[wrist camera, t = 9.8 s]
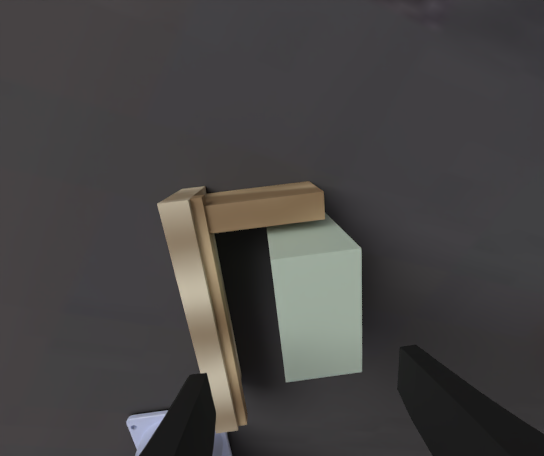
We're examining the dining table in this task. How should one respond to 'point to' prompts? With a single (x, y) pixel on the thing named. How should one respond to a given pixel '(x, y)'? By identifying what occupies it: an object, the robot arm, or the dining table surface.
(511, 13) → the dining table surface
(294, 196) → the l-shaped wooden block
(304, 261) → the cabinet block
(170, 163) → the dining table surface
